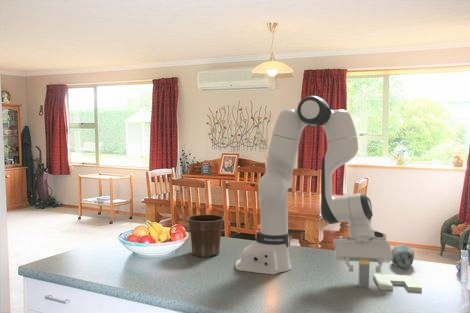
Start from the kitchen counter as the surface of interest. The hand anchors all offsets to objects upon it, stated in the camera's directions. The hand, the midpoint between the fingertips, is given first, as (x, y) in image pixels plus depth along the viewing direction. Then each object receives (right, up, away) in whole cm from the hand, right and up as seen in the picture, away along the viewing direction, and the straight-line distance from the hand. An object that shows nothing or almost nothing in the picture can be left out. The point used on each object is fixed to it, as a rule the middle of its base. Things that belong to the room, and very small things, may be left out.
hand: (364, 271), depth 153 cm
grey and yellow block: (0, -5, +1) cm, 5 cm away
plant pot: (-59, -2, +39) cm, 71 cm away
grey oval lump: (+22, -4, +24) cm, 33 cm away
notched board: (+12, -5, +2) cm, 13 cm away
